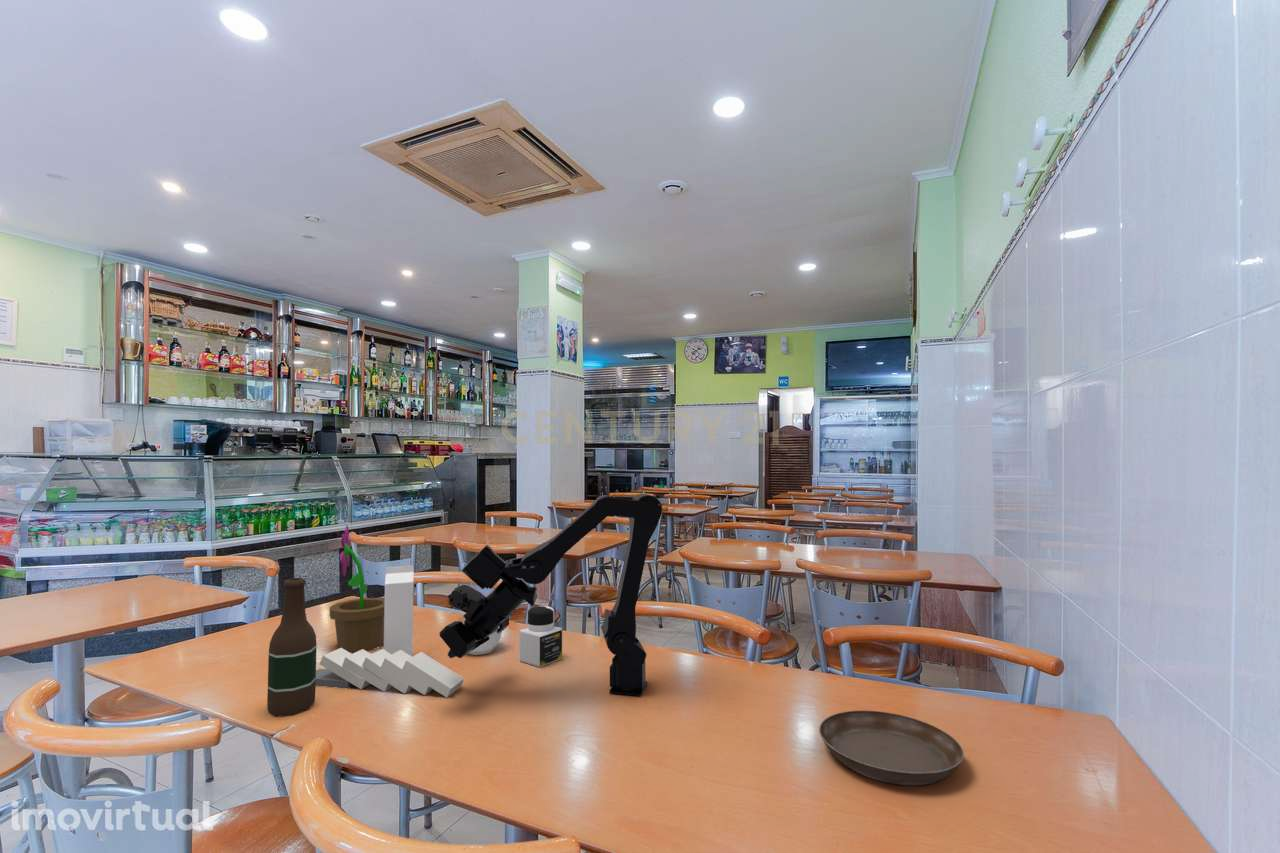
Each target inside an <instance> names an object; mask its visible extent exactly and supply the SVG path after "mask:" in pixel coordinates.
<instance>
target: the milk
mask: <svg viewBox="0 0 1280 853" xmlns="http://www.w3.org/2000/svg"><path fill="white" fill-rule="evenodd" d="M414 572H415V568H414V565H404V566H403V565H402V566H400V565H399V566H387V567H386V568H385V578H384V599H385V604H384V641H383V649H384V650H385V651H387V652H388V653H390V654H391V655H392V654H394V653H395V652H397V651H399V650H402V651H404V652H405V653H407V654H408V655H410V656H412V657H413V648H414V645H413V644H414V643H413V641H414V638H413V637H414V636H413V635H414V589H415V588H414V584H415V583H414V580H415V579H414V578H415V577H414V576H415V573H414Z"/></svg>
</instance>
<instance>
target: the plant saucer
mask: <svg viewBox="0 0 1280 853" xmlns="http://www.w3.org/2000/svg"><path fill="white" fill-rule="evenodd" d="M818 728H819V730H818V731H819V735H820V738H821V739H822V741H823V743H824V745H825V746H826V747H827V749H828V750H829V751H830V753H831V754H832V755H833V756H834V757H835V758H836V759H837V760H838V761H839V762H840V763H842V764H843V765H844V766H846V767H847V768H849V769H850V770H852V771H853V772H856V773H858V774H860V775H862V776H864V777H867V778H870V779H872V780H875V781H879V782H884V783H886V784H887V783H888V784H893V785H901V786H922V785H924V786H925V785H930V784H933V783H934V784H935V783H937V782H939V781H942V780H943V779H944V778H947V777H949V775H951V774H952V773H953V772H955V771H956V770H957V769H958V768H959V766H960V765H961V763H962V761H963V760H964V755H965V753H964V750H963V747H962V746H961V745H960V743H959V741H957V740H956V739H955V738H954V737H953V736H952V735H950V734H949V733H947V732H945V731H944V730H943V729H941V728H938V727H937V726H935V725H932V724H930V723H927V722H925V721H922V720H920V719H918V718H917V719H916V718H913V717H909V716H905V715H902V714H897V713H892V712H888V711H887V712H886V711H877V710H865V709H864V710H847V711H841V712H838V713H834V714H832V715H829V716H827V717H826V718H824V719H823V720H822V721H821V723H820V725H819V726H818Z"/></svg>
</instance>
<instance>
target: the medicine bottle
mask: <svg viewBox="0 0 1280 853" xmlns="http://www.w3.org/2000/svg"><path fill="white" fill-rule="evenodd" d="M518 643H519V644H518V647H519V648H518V650H519V652H518V653H519V654H518V656H519V658H518V660H519V662H521V663H525V664H528V665H530V666H533V667H537V668H543V667H545V666H547V665H550V664H552V663H555V662H557V661H558V662H559V661H561V660H562V659H563V628H562V627H559V626H558V627H557V626H555V609H554V608H553V607H551V606H548V605H536V606H532V607H530V608H529V609H528V611H527V627H526V628H522V629H520V630H519V642H518Z"/></svg>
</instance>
